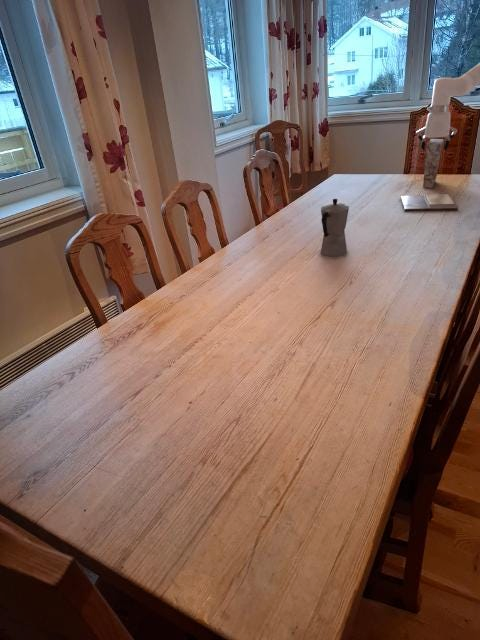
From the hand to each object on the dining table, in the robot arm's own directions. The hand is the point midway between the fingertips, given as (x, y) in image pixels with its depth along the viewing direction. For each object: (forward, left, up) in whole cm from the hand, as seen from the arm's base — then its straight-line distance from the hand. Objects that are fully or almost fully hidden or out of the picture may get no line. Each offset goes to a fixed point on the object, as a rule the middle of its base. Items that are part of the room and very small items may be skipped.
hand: (434, 150), depth 200 cm
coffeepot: (+42, +87, -16) cm, 98 cm away
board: (+5, +32, -16) cm, 36 cm away
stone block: (0, 0, -16) cm, 16 cm away
